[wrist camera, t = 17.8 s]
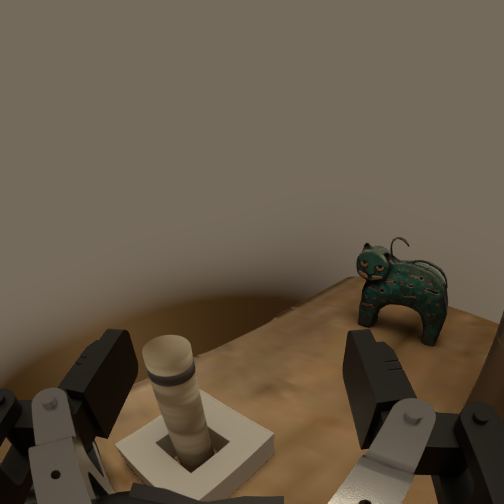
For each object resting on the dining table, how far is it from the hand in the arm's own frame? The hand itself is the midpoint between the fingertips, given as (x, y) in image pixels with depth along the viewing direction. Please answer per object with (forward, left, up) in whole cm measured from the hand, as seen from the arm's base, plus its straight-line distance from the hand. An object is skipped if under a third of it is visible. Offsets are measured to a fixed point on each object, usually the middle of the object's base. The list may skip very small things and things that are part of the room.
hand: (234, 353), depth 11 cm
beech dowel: (-5, -14, -30) cm, 34 cm away
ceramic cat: (-50, -4, -30) cm, 59 cm away
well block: (-5, -14, -30) cm, 34 cm away
